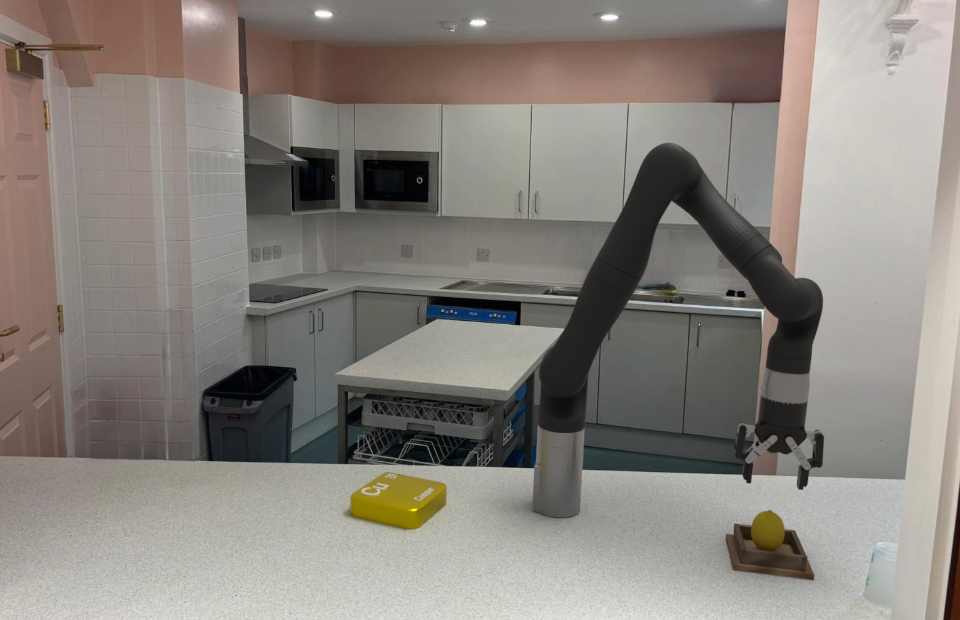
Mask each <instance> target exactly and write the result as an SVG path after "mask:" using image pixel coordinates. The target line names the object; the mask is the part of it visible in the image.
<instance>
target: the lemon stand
mask: <svg viewBox="0 0 960 620" xmlns="http://www.w3.org/2000/svg"><path fill="white" fill-rule="evenodd" d="M751 527H752V524H743V523H735V522H734V523H733V534H731V533H725V542H726V546H727V550H728V554H729V559H730V563H731V566H732V567H731V568H732V571H736V572H737V571H738V572H746V573H747V572H748V573H755V574H762V575H769V576H771V575H772V576H779V577H787V578H795V579H802V580H811V581H814V579H815V573H814V571H813V569H812V567H811V564H810V562H809V560H808V556H807V554H806V552H805V550H804V547H803V545H802V543H801V540H800V538H799V535H798V534H797V530H795V529H789V528H784V529H785V535H784V540H783V542H782V544H781V546H780V547H779V548H778V549H776V550H774V551H763V550H762V549H760V548H758V547H757V546H756V545H755V544H754V542H753V540H752V537H751Z"/></svg>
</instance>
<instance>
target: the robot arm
mask: <svg viewBox="0 0 960 620" xmlns="http://www.w3.org/2000/svg"><path fill="white" fill-rule="evenodd" d="M629 191H630V192H629V194H628V196H627V199H626V201H625V203H624V206H623V207H622V210H621V211H620V213H619V215H618V216H617V219H616V221H615V222H614V224H613V226H612V228H611V230H610V232H609V233H608V236H607V237H606V239H605V240H604V243H603V245H602V246H601V248H600V250H599V252H598V253H597V255H596V257H595V259H594V261H593V263H592V265H591V266H590V268H589V270H588V273H587V274H586V277H585V279H584V281H583V282H582V285H581V288H580V291H579V293H578V296H577V297H576V301H575V303H574V306H573V310H572V312H571V315H570V317H569V319H568V322H567V324H566V325H565V327H564V329H563V331H562V332H561V334H560V335H559V337H558V338H557V340H556V341H555V343H554V345H553V346H551V347H550V348H548V350H547V351H546V352H545V353H544V355H543V357H542V359H541V361H540V364H539V367H538V368H539V369H538V377H539V378H538V379H539V381H540V397H539V403H538V405H539V406H538V412H537V414H538V415H537V431H536V432H537V435H536V453H535V454H536V455H535V456H536V457H535V463H534V466H533V467H534V469H533V486H532V487H533V488H532V489H533V490H532V491H533V492H532V509H531V510H532V512H536V513H540V514H542V515H544V516H548V517H551V518H552V517H553V518H568V517H572V516H576V515H577V514H578V513H580V511H581V500H582V483H583V482H582V481H583V480H582V479H583V464H584V450H585V449H584V448H585V446H584V445H585V431H586V430H585V428H586V414H587V404H588V403H587V401H588V400H587V399H588V387H589V385H588V383H589V374H590V370H591V368H592V365H593V363H594V360H595V359H596V356H597V354H598V352H599V349H600V347H601V345H602V343H603V341H604V339H605V338H606V337H607V334H608V333H609V332H610V330H611V329H612V328H613V326H614V324H615V323H616V322H617V320H618V319H619V317H620V316H621V315H622V312H623V311H624V310H625V308H626V306H627V305H628V303H629V301H630V300H631V298H632V297H633V295H634V293H635V292H636V289H637V287H638V285H639V283H640V281H641V280H642V279H643V276H644V274H645V271H646V270H647V266H648V263H649V260H650V256H651V252H652V247H653V244H654V243H653V242H654V238H655V234H656V231H657V227H658V225H659V223H660V222H661V220H662V218H663V216H664V214H665V212H666V211H667V209H668V208H669V206H670V204H671V203H674V204H675V205H676V206H678V207H679V208H680V209H682V210H683V211H684V212H686V213H687V214H689V215H690V217H692V219H694V220H695V221H696V222H697V224H698V225H700V227H701V228H702V229H703V230H704V232H705V233H706V234H707V235H708V237H709V239H710V240H711V241H712V243H713V244H714V245H715V247H716V248H717V250H718V251H720V253H721V254H722V256H723V257H724V258H725V259H726V260H727V261H728V262H729V263H730V264H731V266H733V267H734V269H735V270H737V272H739V274H741V276H742V277H743V278H744V279H745V280H747V282H748V283H749V285H750V286H751V289H752V290H753V292H754V293H755V295H756V296H757V298H758V300H760V302H761V303H762V305H763V306H764V307H765V309H766V310H767V311H768V312H769V313H770V314H771V315H772V316H773V317H775V319H778V320H777V325H776V329H775V331H774V333H773V334H772V336H771V337H770V338H769V341H768V344H767V350H766V351H767V352H766V359H765V368H764V374H763V376H762V379H761V380H762V381H761V386H760V398H759V406H758V407H759V408H758V417H757V422H756V424H755V425H751V424H746V423H745V421H739V422H738V423H737V427H736V433H735V438H734V439H735V440H734V444H733V445H734V446H733V450H732V452H733V454H734V457H735V458H736V459H740V460H741V461H743V464H742V472H741V475H742V479H743V480H744V481H745V483H746V484H752V480H753V479H752V477H753V469H754V463H753V462H754V461H755V460H756V459H758V457H759V456H761V455H762V454H764V453H765V452H766V451H767V452H768V453H769V454H771V453H772V454H776V453H779V454H783V455H790V454H791V453H793V455H794V456H795V457H796V459H797V461H798V462H799V465H798V470H797V477H796V487H797V489H798V490H801V491H804V488H807V486H808V485H809V476H810V475H809V474H810V471H811V470H812V469H813V468H814V469H815V468H818V469H820V468H822V467H823V464H824V446H825V445H824V444H825V435H824V434H823V433H822V431H821V430H819V429H815V430H814V431H811V430H809V431H807V430H806V427H805V426H806V420H807V419H806V418H807V411H808V404H809V403H808V402H809V396H810V395H809V394H810V389H811V388H810V387H811V386H810V380H811V379H810V377H811V376H810V372H811V366H812V359H813V345H814V341H815V338H816V336H817V332H818V328H819V326H820V322H821V318H822V313H823V308H824V297H823V292H822V289H821V287H820V286H819V284H818V283H817V282H815V281H814V280H812V279H810V278H806V277H795V276H794V275H793V274H792V273H791V272H790V271H789V270H788V268H786V266H785V265H784V263H783V257H782V254H781V253H780V252H779V251H778V250H777V248H776V247H775V246H774V245H773V244H772V243H771V242H770V241H769V240H768V239H767V238H766V237H765V236H764V235H763V234H762V233H761V231H759V230H758V229H757V227H755V226H754V225H753V224H752V223H750V222H749V221H748V220H747V219H746V218H745V217H744V216H743V215H742V214H741V213H739V212H738V211H737V210H736V209H735V208H734V207H733V206H732V205H731V204H730V203H729V202H728V201H727V200H726V199H725V198H724V196H723V195H722V194H721V193H720V192H719V190H718V189H717V188H716V187H715V185H714V184H713V183H712V181H711V180H710V178H709V177H708V176H707V174H706V173H705V171H704V170H703V168H702V167H701V165H700V163H699V161H698V159H697V158H696V156H694V155H693V154H692V153H691V152H690V151H688V150H687V149H685V148H684V147H682V146H681V145H679V144H677V143H675V142H674V143H673V142H664V143H660V144H659V145H656V146H655V147H653V148H652V149H651V150H650V151H648V153H646V155H645V156H644V159H643V160H642V162H641V164H640V167H639V169H638V172H637V173H636V177H635V179H634V181H633V185H632V186H631V189H630V190H629ZM752 433H754V434H755V436H756V437H757V439H756V440H755V441H754V442H753V443H752V444H751V446H750V447H749V448H748V449H747V450H746V451H745V450H744V448H745V442H746V438H749V437H750V436H751V434H752ZM806 439H808V441H809V443H810V444H811V445H812V454H811V456H812V457H810V458H807V457H806V456H805V454H804V453H803V451H802V450H801V448H800V447H799V446H801V444H803V442H805V440H806Z"/></svg>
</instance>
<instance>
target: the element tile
mask: <svg viewBox="0 0 960 620" xmlns="http://www.w3.org/2000/svg"><path fill="white" fill-rule="evenodd" d="M446 505H447V484H446V483H445V482H440V481H436V480H431V479H425V478H421V477H416V476H411V475H407V474H406V475H405V474H400V473H396V472H390V471H386V472H384V473H381V474H380V475H378V476H377V477H375V478H374V479H372V480H370V481H369V482H367V483H366V484H365V485H363V486H361V487H360V488H359V489H357V490H356V491H354V492H353V493H351V494H350V516H351V517H353V518H354V519H355V518H356V519H359V520H365V521H368V522H371V523H372V522H373V523H377V524H381V525H385V526H390V527H395V528H399V529H403V530H410V531H411V530H416V529H420V528H421V527H422V526H423V525H425V523H427V522H428V521H429V520H430V519H432V517H433V518H434V516H435V515H436V514H437V513H438V512H439V511H441V510H442V509H443V508H444V507H446Z"/></svg>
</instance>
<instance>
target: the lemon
mask: <svg viewBox="0 0 960 620" xmlns="http://www.w3.org/2000/svg"><path fill="white" fill-rule="evenodd" d="M751 523H752V524H751V525H752V527H751V537H752V540H753V542H754V544H755V545H756V546H757V547H758V548H760V549H762V550H763V551H774V550H776V549H778V548H779V547H780V546H781V544H782V542H783V540H784V535H785V529H786V528H785V525H784V522H783V519H782V518H781V517H780V515H778V514H777V513H775V512H774V511H773V510H771V509H767V510H763V511H760V512H759V513H757V515H755V516H754V519H753V520H752V522H751Z"/></svg>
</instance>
